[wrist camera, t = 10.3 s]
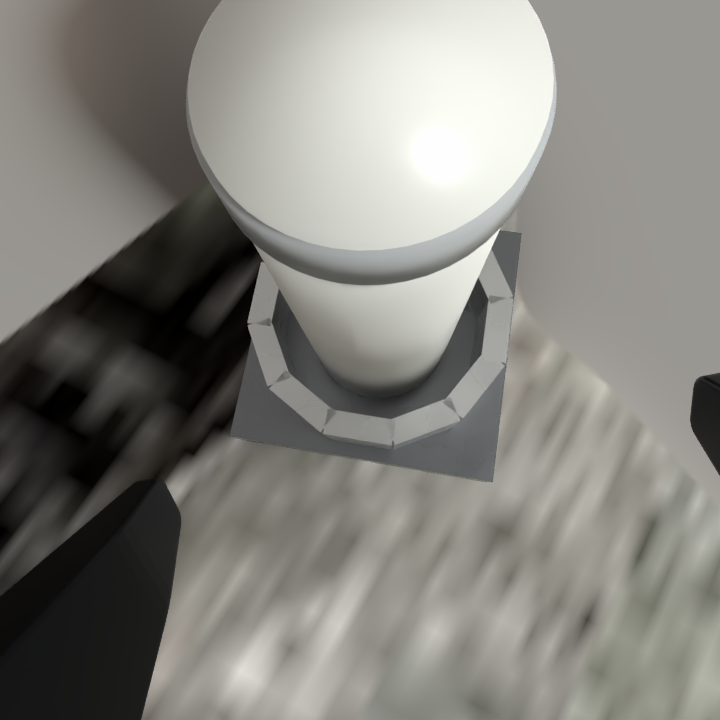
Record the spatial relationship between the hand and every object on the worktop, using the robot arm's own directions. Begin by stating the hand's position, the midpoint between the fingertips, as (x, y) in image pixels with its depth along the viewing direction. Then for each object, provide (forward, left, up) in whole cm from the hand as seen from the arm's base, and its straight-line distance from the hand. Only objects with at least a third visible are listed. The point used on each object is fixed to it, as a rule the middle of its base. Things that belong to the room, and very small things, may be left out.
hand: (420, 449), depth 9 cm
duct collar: (+5, +2, -12) cm, 13 cm away
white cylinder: (+5, +2, -10) cm, 11 cm away
